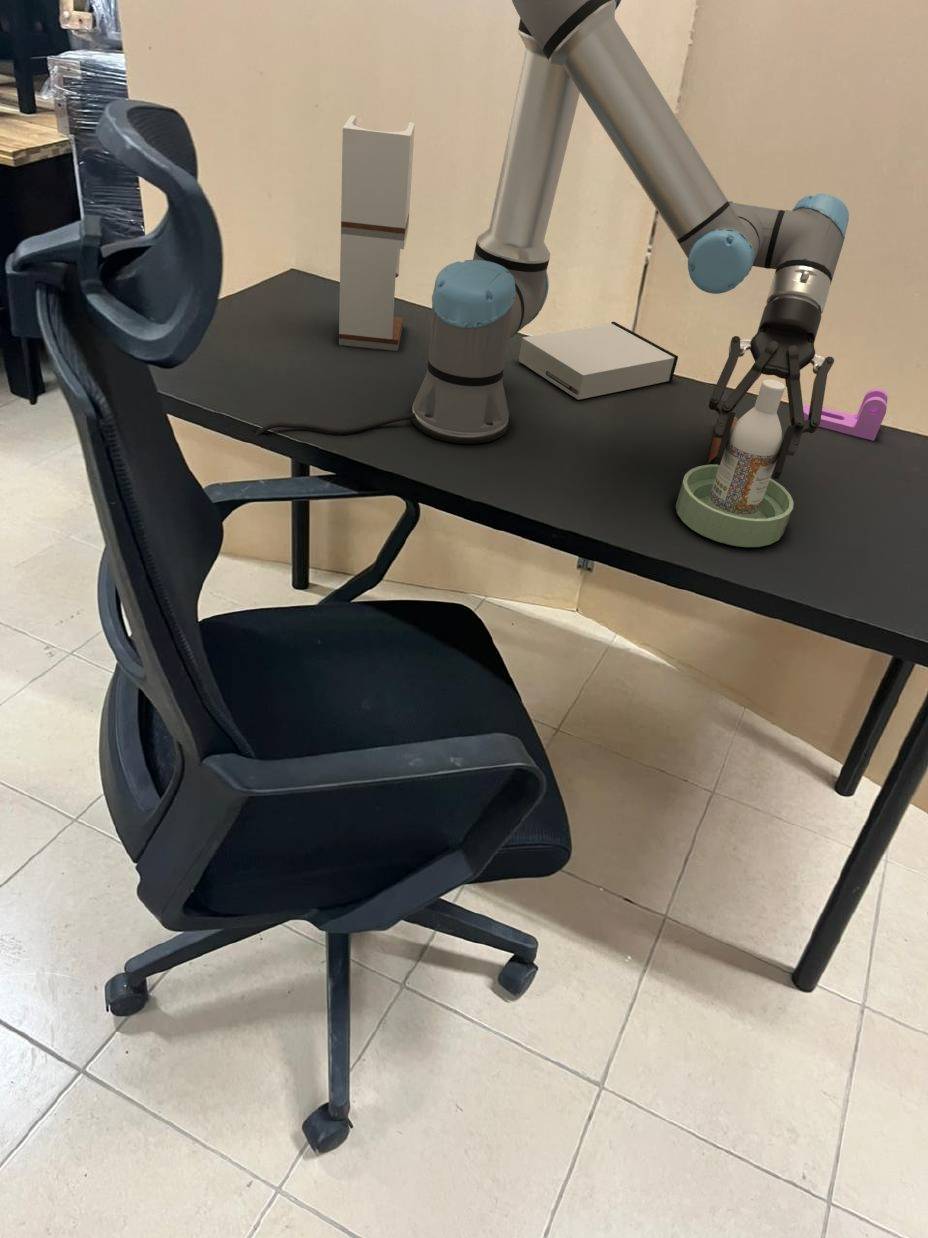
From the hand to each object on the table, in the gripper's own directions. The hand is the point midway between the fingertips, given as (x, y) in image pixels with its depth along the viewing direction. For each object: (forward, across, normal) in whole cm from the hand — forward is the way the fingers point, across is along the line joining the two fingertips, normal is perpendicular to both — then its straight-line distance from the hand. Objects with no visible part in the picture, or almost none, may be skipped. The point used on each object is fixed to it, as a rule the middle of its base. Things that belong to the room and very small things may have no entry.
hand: (747, 468), depth 118 cm
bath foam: (+4, 0, +9) cm, 10 cm away
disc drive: (-24, -29, +39) cm, 54 cm away
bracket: (-26, +14, +40) cm, 50 cm away
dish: (+4, 0, +9) cm, 10 cm away
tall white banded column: (-19, -70, +33) cm, 80 cm away
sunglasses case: (-10, -1, +24) cm, 26 cm away
